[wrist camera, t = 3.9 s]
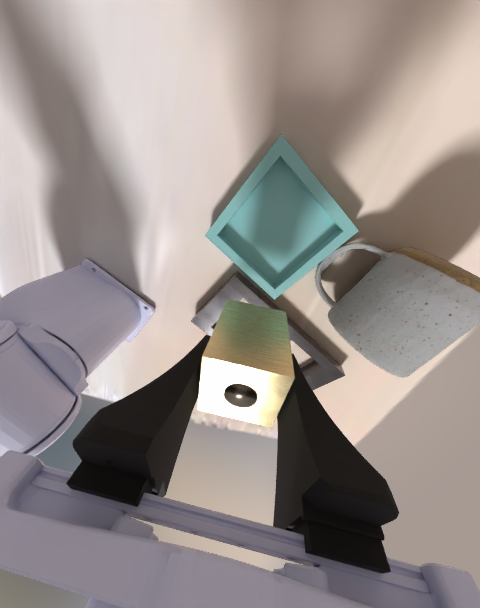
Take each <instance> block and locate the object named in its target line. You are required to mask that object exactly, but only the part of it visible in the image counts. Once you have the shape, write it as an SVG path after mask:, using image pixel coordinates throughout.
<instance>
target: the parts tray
mask: <svg viewBox="0 0 480 608" xmlns="http://www.w3.org/2000/svg"><path fill="white" fill-rule="evenodd" d="M358 231H359V230H358V229H357V228H356V226H355V225H354V224H353V223H352V221H351V220H350V219H349V218H348V216H347V215H346V214H345V213H344V211H343V210H342V209H341V208H340V206H339V205H338V204H337V203H336V201H335V200H334V199H333V198H332V196H331V195H330V194H329V193H328V192H327V190H326V189H325V188H324V187H323V185H322V184H321V183H320V182H319V180H318V179H317V178H316V177H315V175H314V174H313V173H312V172H311V170H310V169H309V168H308V167H307V165H306V164H305V163H304V162H303V160H302V159H301V158H300V157H299V155H298V154H297V153H296V152H295V150H294V149H293V148H292V147H291V145H290V144H289V143H288V142H287V140H286V139H285V138H284V137H283V135H282V134H281V135H280V136H279V138H278V139H277V140H276V142H275V143H274V144H273V146H272V147H271V148H270V150H269V151H268V152H267V154H266V155H265V156H264V158H263V159H262V160H261V162H260V163H259V164H258V166H257V167H256V168H255V170H254V171H253V172H252V174H251V175H250V176H249V178H248V179H247V180H246V182H245V183H244V184H243V186H242V187H241V188H240V190H239V191H238V192H237V193H236V195H235V196H234V197H233V199H232V200H231V201H230V203H229V204H228V205H227V207H226V208H225V209H224V211H223V212H222V213H221V215H220V216H219V217H218V219H217V220H216V221H215V223H214V224H213V225H212V227H211V228H210V229H209V231H208V232H207V233H206V235H205V236H206V237H207V238H208V239H209V240H210V241H211V242H212V243H213V244H214V245H216V246H217V247H218V248H219V249H220V250H221V251H222V252H223V253H224V254H225V255H226V256H227V257H229V258H230V259H231V260H232V261H233V262H234V263H235V264H236V265H237V266H238V267H239V268H240V269H242V270H243V271H244V272H245V273H246V274H247V275H248V276H249V277H250V278H251V279H252V280H253V281H255V282H256V283H257V284H258V285H259V286H260V287H261V288H262V289H263V290H264V291H265V292H266V293H268V294H269V295H270V296H271V297H272V298H273V299H274V300H275V299H276V298H277V297H278V296H280V295H281V294H282V293H283V292H284V291H286V290H287V289H288V288H289V287H291V286H292V285H293V284H294V283H295V282H297V281H298V280H299V279H300V278H302V277H303V276H304V275H305V274H307V273H308V272H309V271H310V270H311V269H313V268H314V267H315V266H316V265H318V264H319V263H320V262H321V261H323V260H324V259H325V258H326V257H327V256H329V255H330V254H331V253H332V252H334V251H335V250H336V249H337V248H338V247H340V246H341V245H342V244H343V243H345V242H346V241H347V240H348V239H350V238H351V237H352V236H353V235H354V234H356V233H357V232H358Z"/></svg>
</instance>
